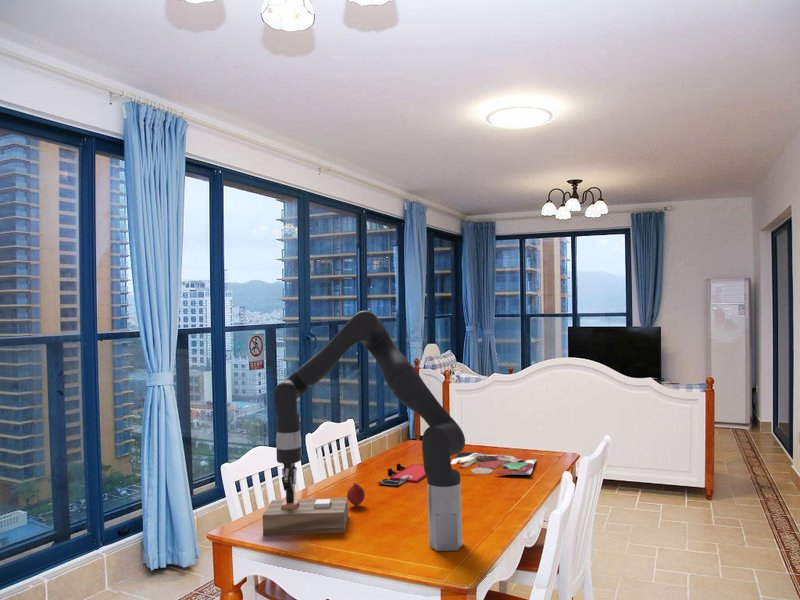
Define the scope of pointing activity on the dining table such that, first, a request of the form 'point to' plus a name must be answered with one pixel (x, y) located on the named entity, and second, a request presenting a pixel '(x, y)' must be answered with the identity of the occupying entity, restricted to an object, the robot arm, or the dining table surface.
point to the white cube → (323, 503)
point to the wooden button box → (305, 518)
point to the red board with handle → (405, 475)
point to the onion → (356, 495)
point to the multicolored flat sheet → (494, 463)
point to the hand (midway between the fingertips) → (290, 502)
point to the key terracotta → (290, 505)
